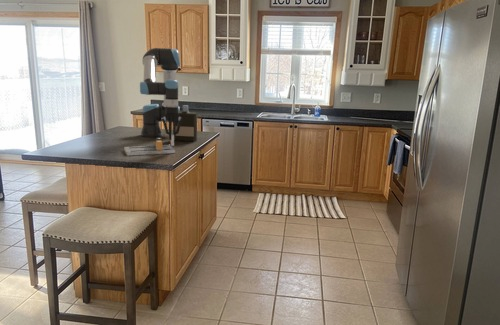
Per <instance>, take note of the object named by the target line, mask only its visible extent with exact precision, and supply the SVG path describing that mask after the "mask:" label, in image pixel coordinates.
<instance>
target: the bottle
mask: <svg viewBox="0 0 500 325" xmlns="http://www.w3.org/2000/svg"><path fill="white" fill-rule="evenodd" d="M178 114H179V117H181V118H183V120H182V122H181V125H180V129H179V133H178V134H176V139H175V140H174V142H191V143H195V142H196V141H197V140H198V113H197V112H190V111H189V105H187V104H186V105H185V104H184V105H182V111H180V112H178ZM178 121H179V120H178V119H177V121H176V129H177V125H178Z"/></svg>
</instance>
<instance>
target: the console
mask: <svg viewBox="0 0 500 325" xmlns="http://www.w3.org/2000/svg"><path fill="white" fill-rule="evenodd" d="M123 150H124V153H125V155H126V156H127V157H128V156H147V155H148V156H149V155H166V154H176V150H175V148H173V146H171V144H162V150H157V149H156V145H138V146H136V145H135V146H124V147H123Z"/></svg>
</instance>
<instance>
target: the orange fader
mask: <svg viewBox="0 0 500 325" xmlns="http://www.w3.org/2000/svg"><path fill="white" fill-rule="evenodd" d="M162 145H163V140H162V141H156V140H155V146H156V149H157V150H162Z"/></svg>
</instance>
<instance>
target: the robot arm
mask: <svg viewBox="0 0 500 325" xmlns="http://www.w3.org/2000/svg"><path fill="white" fill-rule="evenodd" d="M142 65H143V81H140V83H139V92H140V94H141V95H145V96H146V95H147V96H148V95H149V96H152V95H153V96H154V95H155V96H157V95H158V96H163V102H162V103H161V105H159V103H151V104H145V105H143V107H142V111H141V112H142V127H141V132H140V136H142V137H145V138H160V137H162V134H163V133H162V130H161V127H160V122H161V123H163V127H164V131H165V133H166V135H168V140H169V141H170V146H171V147H173V146H175V141H174V140H175V139H176V134H178V133H179V129H180V125H181V122H182V120H183V118H181V117H179V114H178V112H181V110H180V108H181V107H180V106H179V81H178V80H177V71H178V70H179V68H180V67H181V61H180V54H179V50H178V49H177V48H167V47H165V48H163V47H153V48H150V49H148V50H147V51H146V52H145V54H144V55H143V57H142ZM157 66H159V67H161V68H160V69H161V70H163V82H161V81H160V82H157ZM177 119H178V120H179V121H178V125H177V129H176V121H177ZM166 122H167V123H168V126H167V123H166Z"/></svg>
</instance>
